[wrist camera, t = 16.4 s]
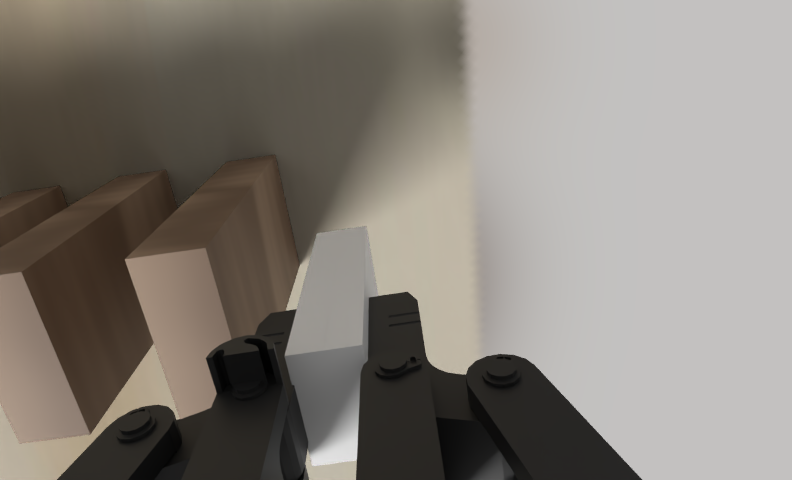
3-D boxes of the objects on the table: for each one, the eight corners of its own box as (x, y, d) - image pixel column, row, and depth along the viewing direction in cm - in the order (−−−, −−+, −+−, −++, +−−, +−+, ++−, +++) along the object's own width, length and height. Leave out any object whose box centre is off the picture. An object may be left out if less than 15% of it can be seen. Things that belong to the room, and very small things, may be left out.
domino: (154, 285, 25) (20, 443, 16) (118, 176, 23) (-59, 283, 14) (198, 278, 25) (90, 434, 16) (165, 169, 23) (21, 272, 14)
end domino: (255, 271, 25) (182, 423, 15) (226, 161, 23) (124, 259, 14) (299, 265, 25) (252, 413, 15) (275, 154, 23) (205, 247, 14)
